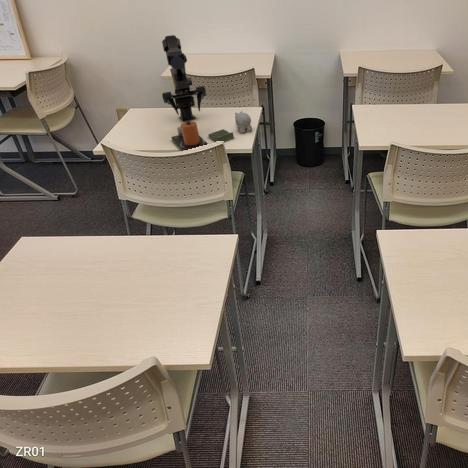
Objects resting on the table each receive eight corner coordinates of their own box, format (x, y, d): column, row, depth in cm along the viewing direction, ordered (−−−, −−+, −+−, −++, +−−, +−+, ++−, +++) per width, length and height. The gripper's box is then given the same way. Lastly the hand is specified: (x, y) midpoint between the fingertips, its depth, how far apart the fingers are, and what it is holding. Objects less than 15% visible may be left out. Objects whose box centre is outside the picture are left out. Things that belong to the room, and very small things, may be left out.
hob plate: (176, 142, 213) (176, 141, 213) (199, 136, 218) (199, 135, 217) (185, 150, 206) (184, 149, 206) (208, 144, 210) (208, 143, 210)
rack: (208, 137, 220) (207, 131, 219) (223, 132, 224) (222, 126, 223) (218, 143, 215) (217, 137, 213) (233, 138, 219) (233, 132, 217)
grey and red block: (178, 136, 218) (177, 128, 216) (179, 134, 220) (178, 126, 217) (189, 136, 218) (187, 127, 215) (190, 134, 219) (188, 126, 217)
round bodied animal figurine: (245, 123, 233) (243, 106, 228) (254, 131, 224) (252, 114, 219) (231, 126, 230) (229, 109, 225) (239, 135, 221) (237, 117, 216)
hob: (170, 139, 221) (169, 135, 220) (193, 133, 225) (192, 129, 224) (185, 155, 207) (184, 150, 206) (209, 148, 211) (208, 144, 210)
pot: (183, 140, 213) (179, 120, 208) (199, 137, 215) (195, 117, 209) (185, 146, 208) (180, 126, 203) (200, 144, 210) (196, 123, 204)
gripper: (156, 75, 203) (165, 110, 203) (200, 68, 207) (209, 102, 206) (160, 85, 214) (168, 119, 214) (202, 78, 218) (210, 111, 217)
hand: (188, 113), depth 212 cm, fingers open, 9 cm apart
